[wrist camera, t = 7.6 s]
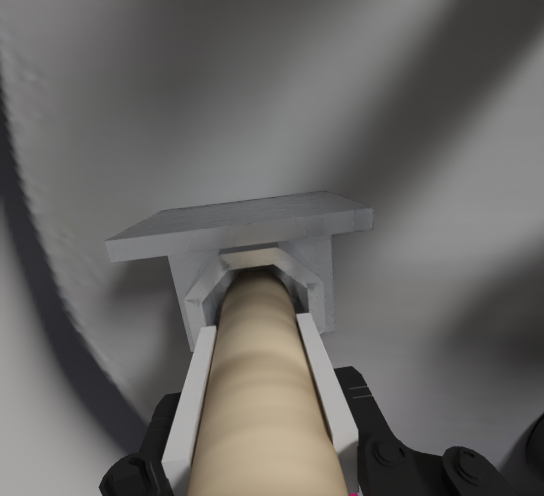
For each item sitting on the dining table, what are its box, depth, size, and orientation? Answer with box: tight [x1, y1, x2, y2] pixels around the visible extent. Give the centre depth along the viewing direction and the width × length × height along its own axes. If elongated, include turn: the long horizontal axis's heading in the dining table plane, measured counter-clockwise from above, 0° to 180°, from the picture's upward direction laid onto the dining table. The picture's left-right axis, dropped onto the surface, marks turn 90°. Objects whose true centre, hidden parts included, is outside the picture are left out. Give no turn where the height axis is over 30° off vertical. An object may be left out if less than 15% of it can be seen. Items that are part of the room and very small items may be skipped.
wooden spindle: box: [186, 271, 350, 496], centre depth 11 cm, size 4×4×16 cm
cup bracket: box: [104, 191, 373, 352], centre depth 17 cm, size 12×12×8 cm
